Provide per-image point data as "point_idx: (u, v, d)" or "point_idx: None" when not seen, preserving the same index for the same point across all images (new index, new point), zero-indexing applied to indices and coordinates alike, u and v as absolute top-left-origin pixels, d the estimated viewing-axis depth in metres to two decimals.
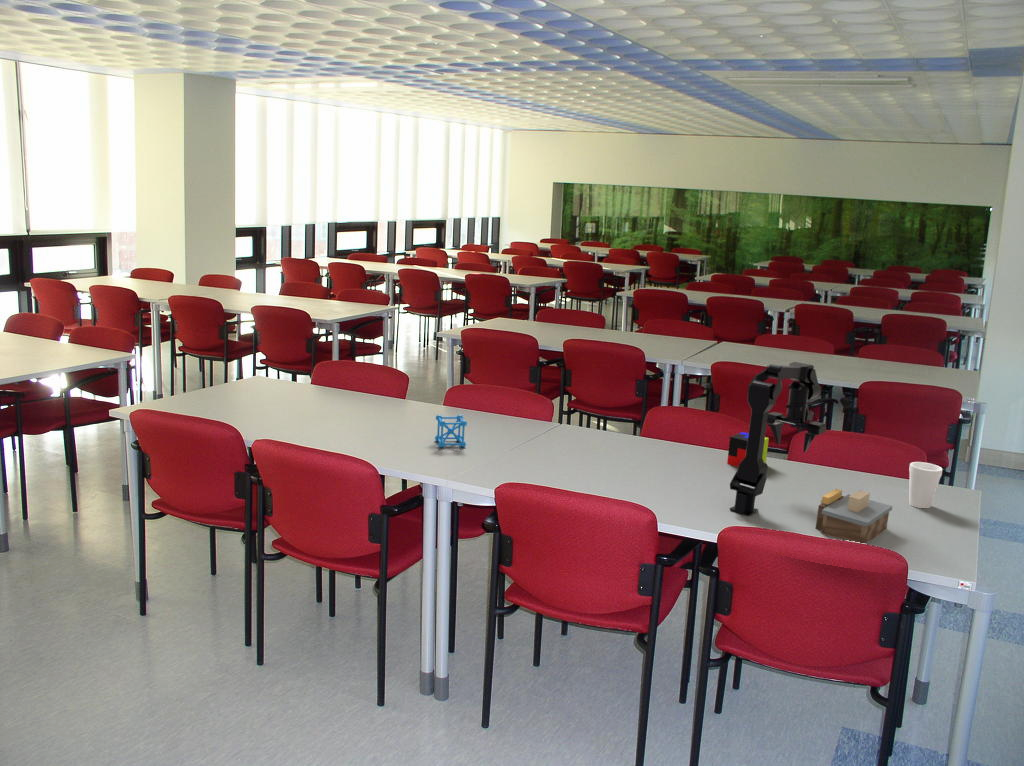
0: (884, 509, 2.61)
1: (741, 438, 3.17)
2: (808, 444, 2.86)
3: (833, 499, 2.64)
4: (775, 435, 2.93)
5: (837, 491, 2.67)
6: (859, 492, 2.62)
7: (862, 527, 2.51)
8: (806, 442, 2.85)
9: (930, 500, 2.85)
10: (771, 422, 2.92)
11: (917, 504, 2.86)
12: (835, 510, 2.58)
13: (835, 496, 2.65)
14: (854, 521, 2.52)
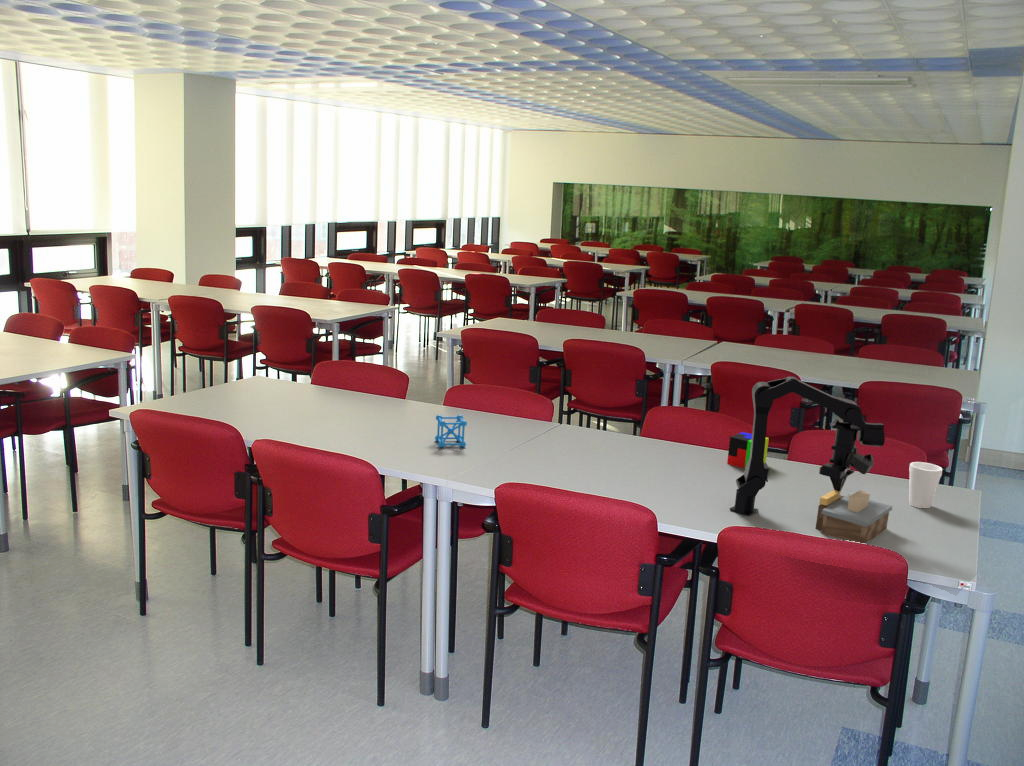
0: (884, 509, 2.61)
1: (741, 438, 3.17)
2: (835, 484, 2.68)
3: (831, 500, 2.63)
4: None
5: (835, 492, 2.66)
6: (859, 492, 2.62)
7: (862, 527, 2.51)
8: None
9: (930, 500, 2.85)
10: None
11: (917, 504, 2.86)
12: (835, 510, 2.58)
13: (833, 497, 2.64)
14: (854, 521, 2.52)
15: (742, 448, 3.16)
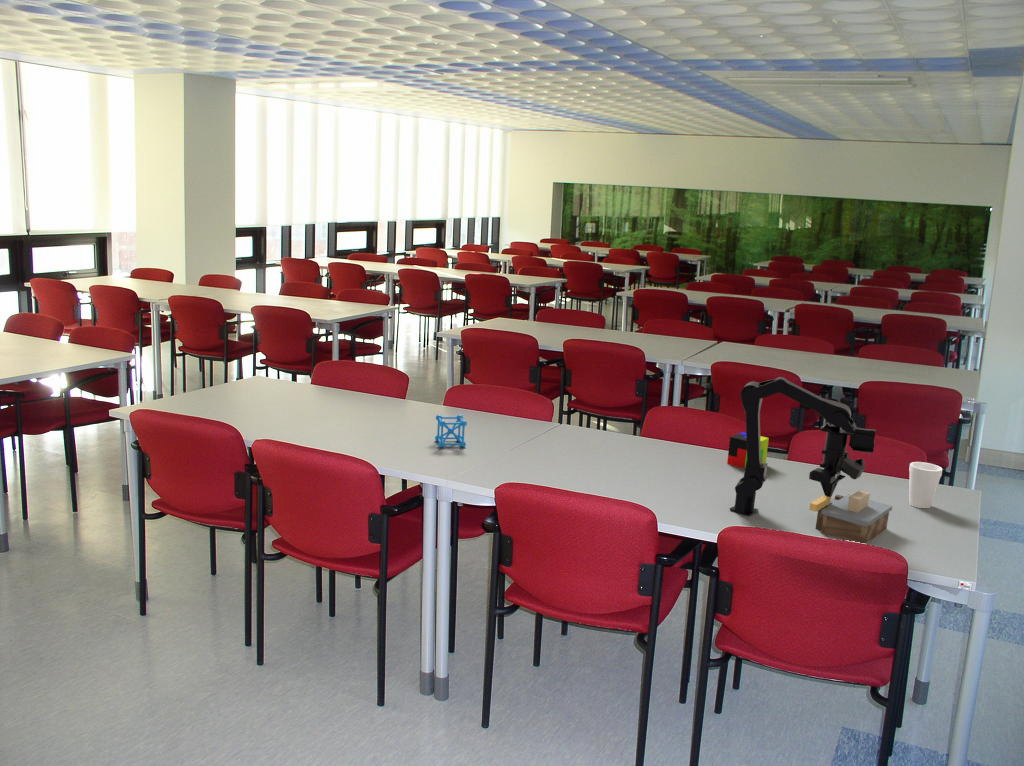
0: (884, 509, 2.61)
1: (741, 438, 3.17)
2: (825, 489, 2.62)
3: (821, 506, 2.58)
4: None
5: (825, 498, 2.61)
6: (859, 492, 2.62)
7: (862, 527, 2.51)
8: None
9: (930, 500, 2.85)
10: None
11: (917, 504, 2.86)
12: (835, 510, 2.58)
13: (823, 503, 2.58)
14: (854, 521, 2.52)
15: (742, 448, 3.16)
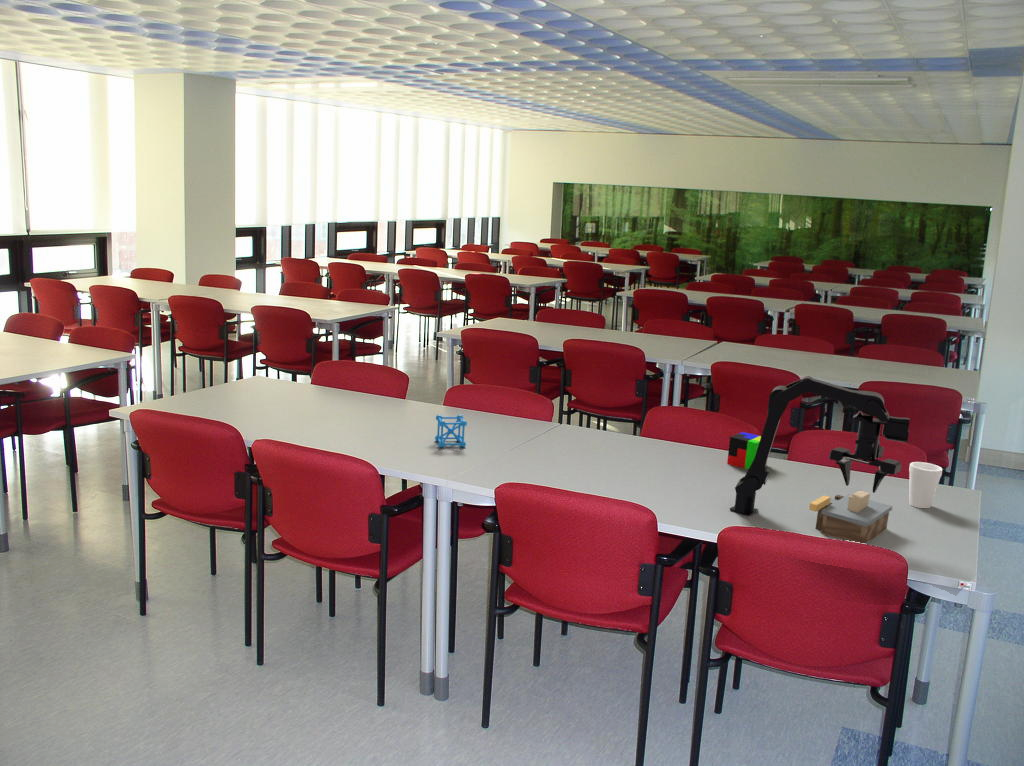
0: (884, 509, 2.61)
1: (741, 438, 3.17)
2: (878, 484, 2.55)
3: (821, 506, 2.57)
4: (844, 474, 2.60)
5: (825, 498, 2.61)
6: (859, 492, 2.62)
7: (862, 527, 2.51)
8: (876, 481, 2.54)
9: (930, 500, 2.85)
10: (837, 459, 2.60)
11: (917, 504, 2.86)
12: (835, 510, 2.58)
13: (823, 503, 2.58)
14: (854, 521, 2.52)
15: (742, 448, 3.16)
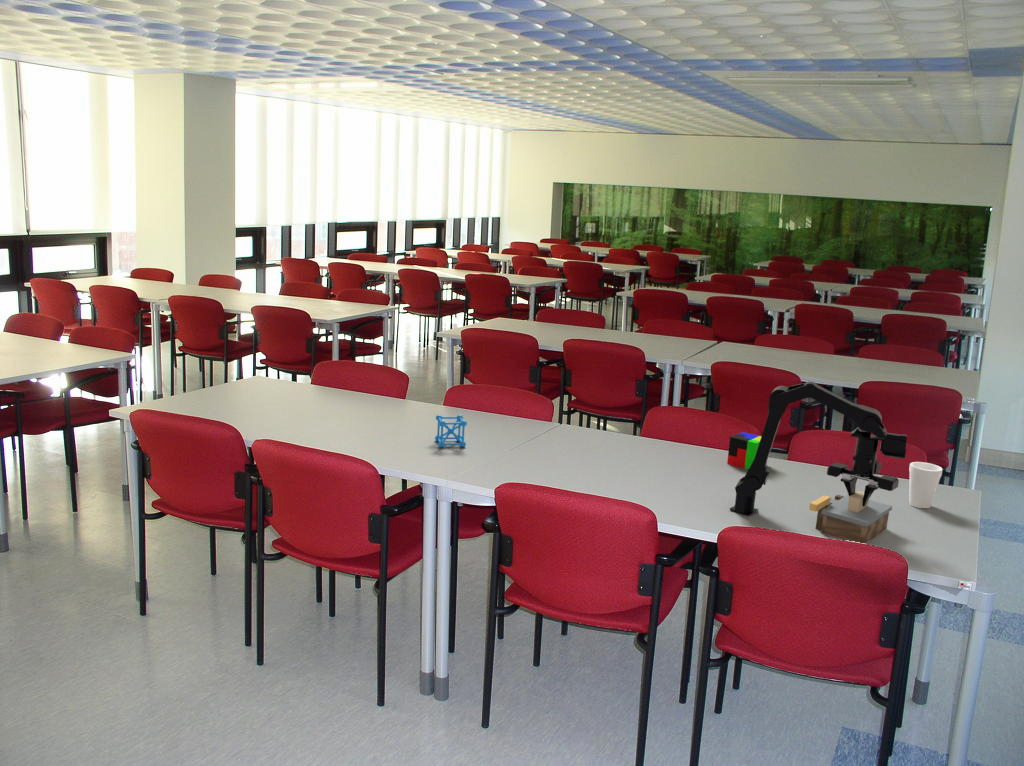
0: (884, 509, 2.61)
1: (741, 438, 3.17)
2: (868, 498, 2.58)
3: (821, 506, 2.57)
4: (849, 492, 2.60)
5: (825, 498, 2.61)
6: (859, 492, 2.62)
7: (862, 527, 2.51)
8: (865, 495, 2.57)
9: (930, 500, 2.85)
10: (835, 475, 2.61)
11: (917, 504, 2.86)
12: (835, 510, 2.58)
13: (823, 503, 2.58)
14: (854, 521, 2.52)
15: (742, 448, 3.16)
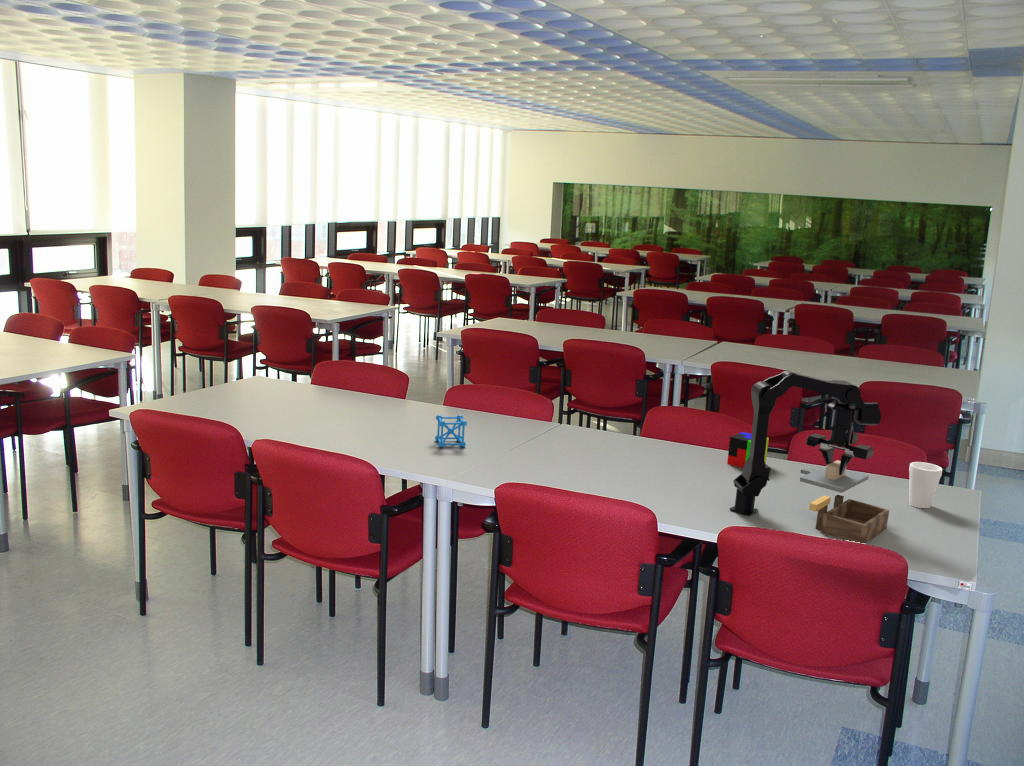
0: (860, 478, 2.73)
1: (741, 438, 3.17)
2: (844, 466, 2.71)
3: (821, 506, 2.57)
4: (827, 461, 2.73)
5: (825, 498, 2.61)
6: (836, 461, 2.75)
7: (862, 527, 2.51)
8: (842, 464, 2.70)
9: (930, 500, 2.85)
10: (813, 445, 2.74)
11: (917, 504, 2.86)
12: (812, 478, 2.71)
13: (823, 503, 2.58)
14: (830, 487, 2.65)
15: (742, 448, 3.16)
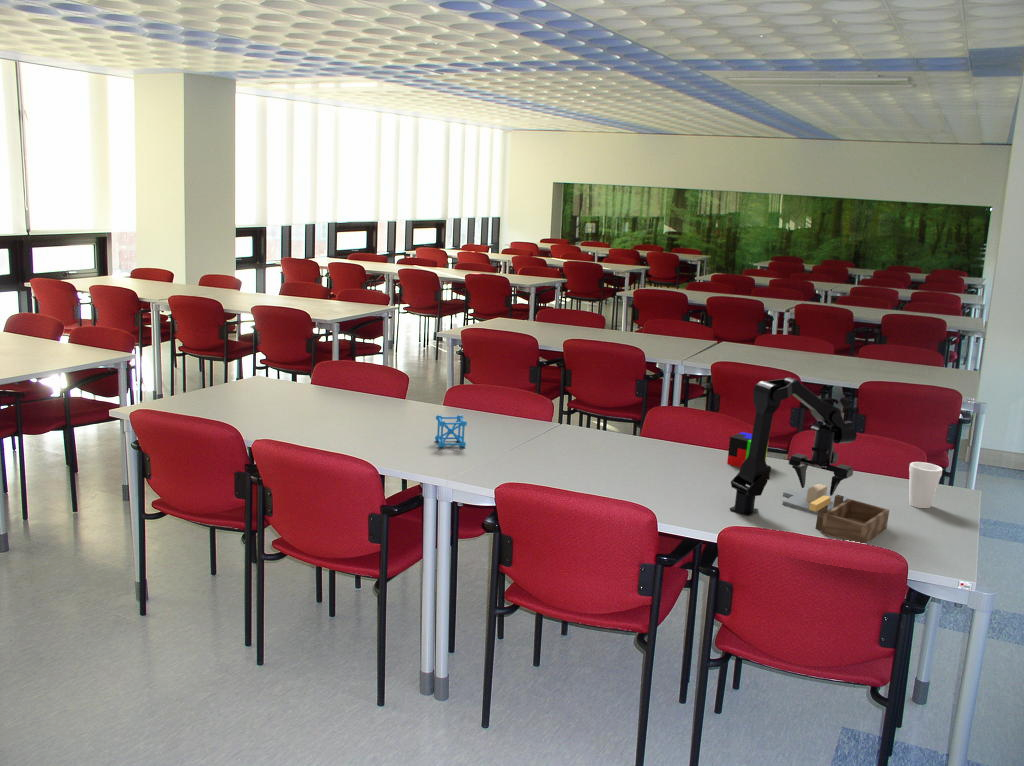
0: None
1: (741, 438, 3.17)
2: (835, 487, 2.80)
3: (821, 506, 2.57)
4: (800, 478, 2.85)
5: (825, 498, 2.61)
6: (817, 485, 2.86)
7: (862, 527, 2.51)
8: (832, 485, 2.79)
9: (930, 500, 2.85)
10: (796, 465, 2.84)
11: (917, 504, 2.86)
12: (794, 501, 2.81)
13: (823, 503, 2.58)
14: (811, 511, 2.76)
15: (742, 448, 3.16)
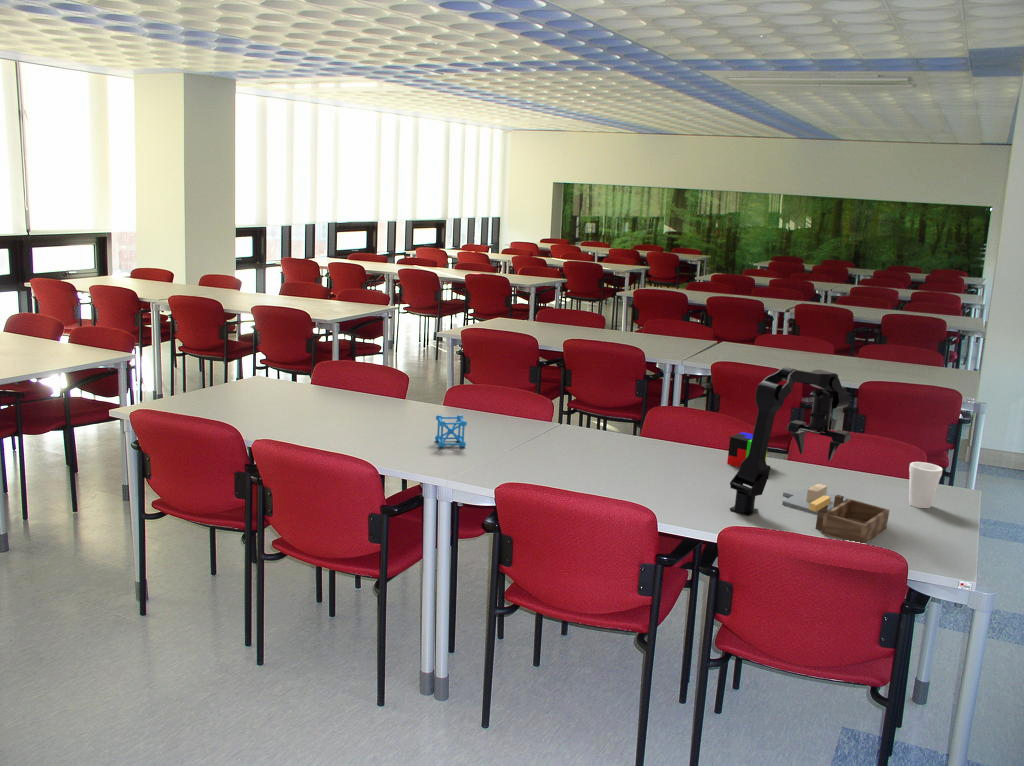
0: None
1: (741, 438, 3.17)
2: (832, 453, 2.84)
3: (821, 506, 2.57)
4: (798, 444, 2.90)
5: (825, 498, 2.61)
6: (817, 485, 2.86)
7: (862, 527, 2.51)
8: (830, 450, 2.83)
9: (930, 500, 2.85)
10: (794, 431, 2.89)
11: (917, 504, 2.86)
12: (794, 501, 2.81)
13: (823, 503, 2.58)
14: (811, 511, 2.76)
15: (742, 448, 3.16)
